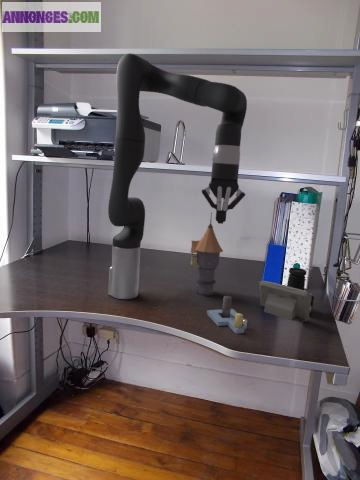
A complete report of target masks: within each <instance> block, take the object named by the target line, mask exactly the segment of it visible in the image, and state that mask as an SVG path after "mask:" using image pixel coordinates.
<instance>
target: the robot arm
mask: <svg viewBox="0 0 360 480" xmlns="http://www.w3.org/2000/svg"><path fill="white" fill-rule="evenodd" d="M116 67H117V69H116V98H117V99H116V101H117V102H116V104H117V105H116V124H115V125H116V128H115V136H114V139H115V140H114V141H115V142H114V161H113V170H112V171H113V173H112V181H111V182H112V183H111V189H110V192H109V193H110V194H109V200H108V207H107V208H108V210H107V212H108V214H107V215H108V220H109V221H110V223H111V224H112V225H113V226H114V227H117V228H118V227H123V228H122V229H121V231H120V232H119V233H117V234H116V235H114V236H113V238H112V248H111V249H112V250H111V266H110V267H109V268H108V290H107V291H108V293H107V294H108V295H109V296H111V297H113V298H115V299H118V300H119V299H120V300H132V299H135V298H137V297H138V295H139V286H140V284H139V283H140V261H141V259H140V258H141V243H142V240H143V237H144V233H145V231H144V230H145V220H146V208H145V205H144V202H143V201H142V199H140V198H139V197H135V196H133V197H129V191H130V185H131V182H132V180H133V178H134V176H135V175H136V173H137V172H138V170H139V168H140V166H141V165H142V162H143V161H144V157H145V148H146V147H145V146H146V133H145V132H146V131H145V127H144V122H143V119H142V115H141V111H140V92H145V93H147V92H148V93H157V94H163V95H167V96H171V97H173V98H175V99H178V100H180V101H183V102H186V103H189V104H193V105H195V106H199V107H205V108H206V107H207V108H210V109H213V110H216V111H219V112H222V114H221V119H220V124H218V125H217V127H216V130H215V139H214V141H215V142H214V148H213V149H214V150H213V153H212V165H211V178H210V182H209V184H208V186H207V187H206V188H202V189H201V193H202V195H203V197H204V198H205V199H206V201H207V203H208V204H209V206H210V207H211V208H212V209H215V211H216V212H215V221H216V222H217V224H224V223H225V222H226V220H227V212H228V211H229V210H233V209H235V207H236V206H237V205H238V204H239V203H240V202H241V201H242V199H243V198H245V196H246V193H245V192H243V191H242V190H241V189H240V188H239V187H240V185H239V183H238V180H239V179H238V178H239V171H240V160H241V141H242V128H243V125H244V122H245V118H246V114H247V106H248V102H247V101H248V100H247V97H246V95H245V93H244V92H243V91H242V90H241V89H240V88H238V87H236V86H234V85H231V84H229V83H224V82H216V81H211V80H208V79H205V78H201V77H197V76H193V75H189V74H180V73H174V72H169V71H166V70H163V69H162V68H159V67H158V66H156V65H153V64H152V63H150V62H149V60H146V59H145V58H143V57H140V55H137V54H135V53H126V54H124V55H122V56H121V58H120V59H119V60H118V63H117V66H116ZM211 193H212V194H213V195H214V197H215V198H216V202H214V201H213V200H212V198H211V196H210V195H211ZM234 195H235V198H234V199H233V200H232V201H231V202H229V201H230V199H231V198H233V197H234ZM222 200H223V201H222Z"/></svg>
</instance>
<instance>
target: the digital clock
mask: <svg viewBox="0 0 360 480" xmlns="http://www.w3.org/2000/svg"><path fill="white" fill-rule="evenodd" d="M259 302H260V306H261V307H263V308H264V310H263V311H264V313H267V314H269V315H273V316H277V317H280V318H283V319H287V320H290V321H292V320H293V319H294V318H296V317H298V318H299V321H300V322H304V323H305V322H306V323H307V322H308V321H309V320H310V317H309V308H310V295H309V292H308V291H307V290H305V289H304V290H300V289H296V288H292V287H288V286H287V285H284V284H279V283H277V282H271V281H267V280H260V281H259Z"/></svg>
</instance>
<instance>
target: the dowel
mask: <svg viewBox="0 0 360 480" xmlns="http://www.w3.org/2000/svg"><path fill="white" fill-rule="evenodd" d="M247 326H248V319H246V318H244V319H243V324H242V327H243V328H244V330H247V328H248V327H247Z"/></svg>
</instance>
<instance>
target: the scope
mask: <svg viewBox="0 0 360 480" xmlns="http://www.w3.org/2000/svg"><path fill="white" fill-rule="evenodd" d="M288 273H289V274H288V279H287V284H286V286H288V287H292V288H296V289H300V290H304V291H305V286H306V285H305V284H306V275H307V270H305V269H304V268H302V267H301V268H300V267H289V269H288ZM308 293H309V292H308ZM309 295H310V308H309V318H310V317H311V316H312V312H313V306H314V304H315V301H314V299H315V296H314V295H313V293H309Z"/></svg>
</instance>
